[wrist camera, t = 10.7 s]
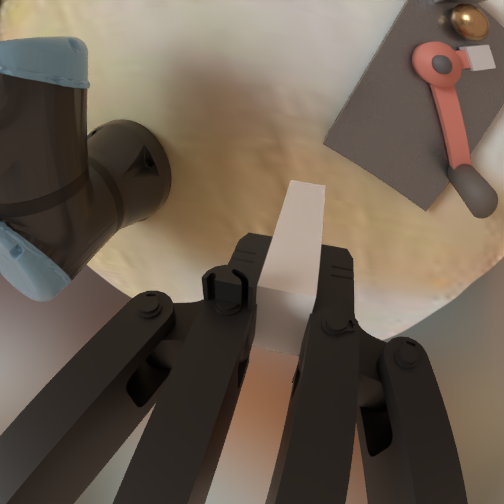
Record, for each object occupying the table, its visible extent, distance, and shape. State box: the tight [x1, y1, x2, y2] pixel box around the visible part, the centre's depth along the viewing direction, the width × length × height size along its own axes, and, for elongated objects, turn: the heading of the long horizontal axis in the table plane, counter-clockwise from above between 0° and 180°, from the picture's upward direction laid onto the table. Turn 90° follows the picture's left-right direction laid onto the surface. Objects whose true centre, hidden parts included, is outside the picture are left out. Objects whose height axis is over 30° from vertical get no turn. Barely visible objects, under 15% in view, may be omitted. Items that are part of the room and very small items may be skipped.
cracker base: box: [323, 0, 504, 211], centre depth 21 cm, size 26×14×6 cm, turn 156°
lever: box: [412, 42, 498, 218], centre depth 20 cm, size 16×9×7 cm, turn 26°
